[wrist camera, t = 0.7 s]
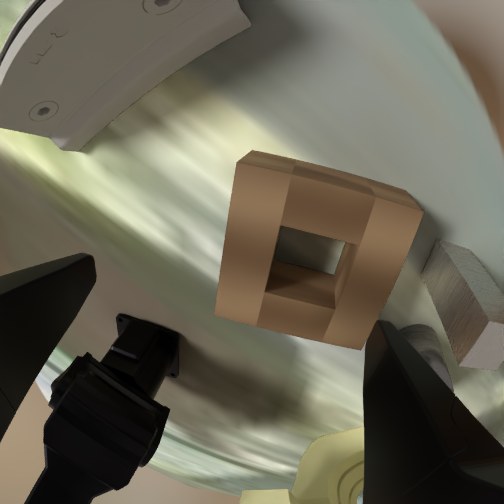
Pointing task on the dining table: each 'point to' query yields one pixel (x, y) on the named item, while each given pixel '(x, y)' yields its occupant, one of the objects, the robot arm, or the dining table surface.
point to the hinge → (100, 59)
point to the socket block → (321, 223)
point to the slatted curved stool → (322, 473)
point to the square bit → (466, 305)
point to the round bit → (428, 349)
